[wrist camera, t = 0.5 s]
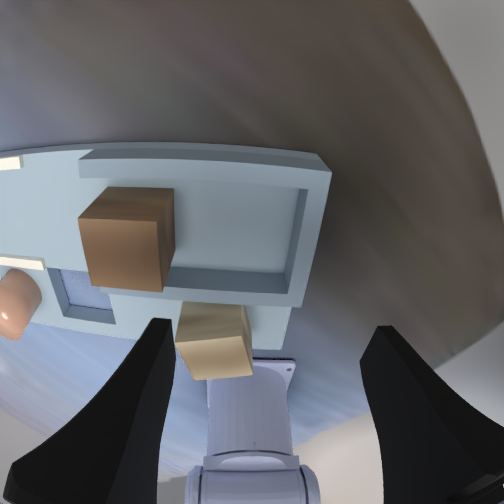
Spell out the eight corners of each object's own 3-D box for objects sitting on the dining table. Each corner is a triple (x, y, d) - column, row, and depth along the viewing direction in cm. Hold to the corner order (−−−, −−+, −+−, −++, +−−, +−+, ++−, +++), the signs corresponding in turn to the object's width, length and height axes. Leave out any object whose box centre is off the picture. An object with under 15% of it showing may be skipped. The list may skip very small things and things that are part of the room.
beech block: (251, 331, 23) (253, 375, 19) (199, 337, 23) (194, 380, 19) (241, 290, 20) (241, 335, 17) (183, 298, 21) (174, 342, 17)
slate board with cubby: (279, 336, 25) (283, 369, 22) (25, 308, 23) (9, 333, 20) (316, 153, 17) (332, 172, 14) (-19, 155, 15) (-49, 172, 12)
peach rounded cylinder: (47, 309, 21) (28, 344, 18) (14, 303, 21) (-6, 334, 18) (33, 271, 19) (8, 305, 16) (-1, 266, 19) (-26, 297, 15)
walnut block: (175, 250, 19) (162, 292, 15) (114, 246, 18) (91, 285, 15) (173, 188, 16) (156, 221, 13) (107, 186, 16) (77, 218, 13)
